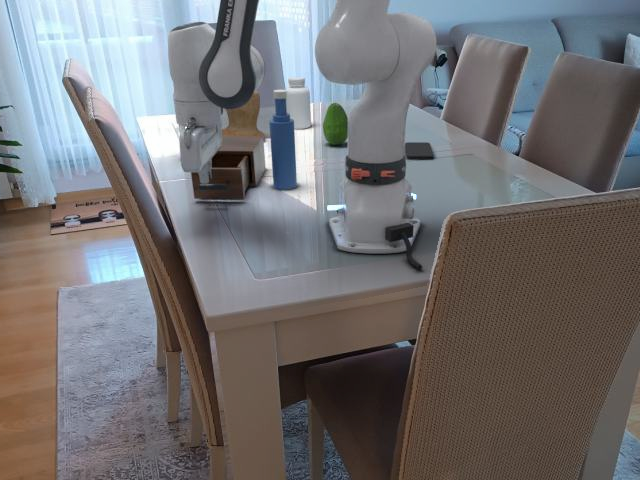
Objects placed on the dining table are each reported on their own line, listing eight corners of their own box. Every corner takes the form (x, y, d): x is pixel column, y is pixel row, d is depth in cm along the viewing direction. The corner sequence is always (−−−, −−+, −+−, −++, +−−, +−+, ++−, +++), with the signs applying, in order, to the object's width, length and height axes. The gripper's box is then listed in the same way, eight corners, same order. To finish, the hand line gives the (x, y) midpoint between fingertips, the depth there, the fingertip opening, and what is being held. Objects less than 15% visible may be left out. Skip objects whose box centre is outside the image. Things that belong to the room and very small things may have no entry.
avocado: (320, 147, 188) (319, 104, 182) (327, 141, 195) (326, 99, 189) (346, 149, 187) (346, 105, 180) (352, 142, 193) (352, 100, 187)
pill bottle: (283, 125, 213) (280, 77, 206) (305, 123, 216) (304, 75, 209) (291, 130, 207) (289, 80, 200) (314, 127, 210) (313, 79, 202)
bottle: (295, 189, 154) (290, 93, 142) (272, 189, 154) (265, 92, 142) (298, 182, 158) (293, 88, 147) (275, 182, 159) (269, 88, 147)
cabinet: (255, 186, 156) (253, 151, 151) (204, 186, 156) (200, 150, 152) (265, 169, 169) (263, 136, 164) (218, 169, 169) (214, 135, 165)
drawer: (240, 205, 141) (237, 174, 138) (189, 204, 142) (185, 174, 138) (254, 180, 157) (252, 152, 153) (208, 180, 157) (205, 152, 154)
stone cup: (265, 135, 202) (261, 84, 194) (265, 144, 192) (261, 91, 184) (216, 136, 201) (211, 85, 193) (214, 145, 190) (208, 92, 183)
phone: (407, 156, 176) (404, 142, 189) (406, 159, 176) (404, 145, 189) (434, 156, 176) (429, 142, 189) (433, 159, 176) (429, 145, 189)
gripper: (200, 125, 118) (209, 197, 126) (224, 103, 136) (230, 168, 143) (167, 124, 119) (177, 197, 126) (195, 103, 136) (202, 167, 143)
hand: (206, 181), depth 135 cm, fingers closed
